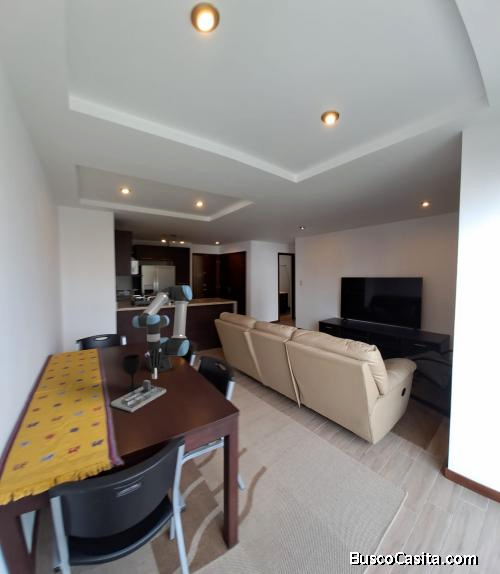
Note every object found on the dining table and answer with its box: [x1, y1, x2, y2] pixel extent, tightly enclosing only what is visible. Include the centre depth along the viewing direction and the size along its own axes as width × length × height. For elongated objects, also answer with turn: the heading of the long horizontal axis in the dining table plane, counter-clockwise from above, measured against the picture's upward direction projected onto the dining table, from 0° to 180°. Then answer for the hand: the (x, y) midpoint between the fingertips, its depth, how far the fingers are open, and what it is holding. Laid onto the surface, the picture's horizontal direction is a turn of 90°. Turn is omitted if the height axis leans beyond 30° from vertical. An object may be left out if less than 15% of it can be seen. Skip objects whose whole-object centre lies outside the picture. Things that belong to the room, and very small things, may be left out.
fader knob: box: [142, 379, 152, 392], centre depth 143 cm, size 2×4×6 cm, turn 65°
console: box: [110, 384, 167, 413], centre depth 138 cm, size 24×16×3 cm, turn 155°
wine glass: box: [122, 354, 143, 393], centre depth 152 cm, size 10×10×20 cm
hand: (154, 378), depth 148 cm, fingers closed
